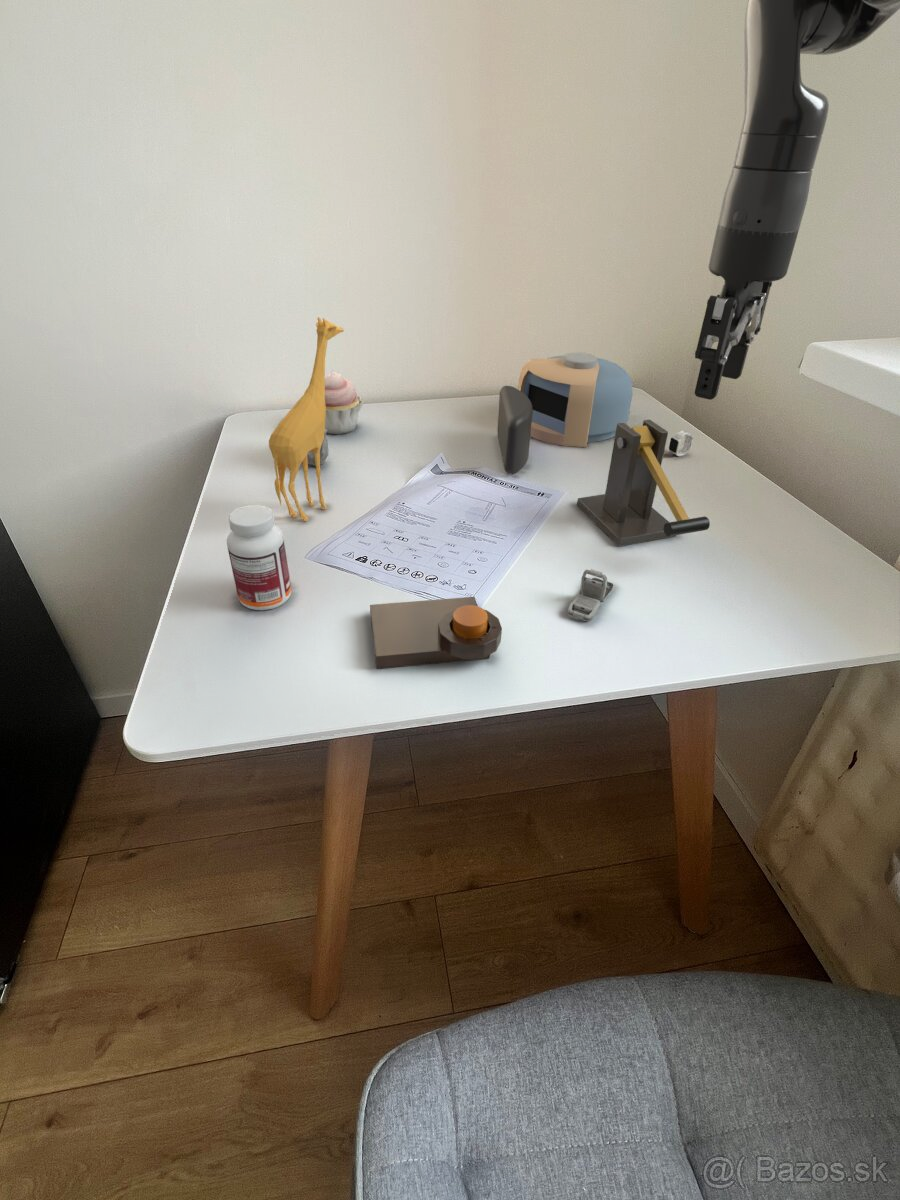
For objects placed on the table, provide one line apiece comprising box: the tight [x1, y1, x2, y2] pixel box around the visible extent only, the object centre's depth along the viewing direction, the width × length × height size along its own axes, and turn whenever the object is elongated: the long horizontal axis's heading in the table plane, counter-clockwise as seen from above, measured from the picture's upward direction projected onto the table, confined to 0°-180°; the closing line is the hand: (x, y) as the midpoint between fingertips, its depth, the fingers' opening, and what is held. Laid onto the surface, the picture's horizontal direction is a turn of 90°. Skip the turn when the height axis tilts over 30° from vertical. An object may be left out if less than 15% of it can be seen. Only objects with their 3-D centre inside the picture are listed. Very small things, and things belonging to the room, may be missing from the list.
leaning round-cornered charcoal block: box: [496, 385, 533, 475], centre depth 112 cm, size 16×5×9 cm, turn 1°
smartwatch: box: [668, 430, 694, 457], centre depth 116 cm, size 4×2×4 cm, turn 116°
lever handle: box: [631, 425, 711, 538], centre depth 88 cm, size 16×6×2 cm, turn 18°
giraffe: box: [268, 316, 345, 522], centre depth 93 cm, size 16×4×25 cm, turn 152°
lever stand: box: [576, 419, 677, 547], centre depth 94 cm, size 12×9×14 cm
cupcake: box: [325, 370, 365, 435], centre depth 120 cm, size 9×9×10 cm
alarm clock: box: [517, 351, 633, 448], centre depth 123 cm, size 19×20×12 cm
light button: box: [453, 605, 488, 639], centre depth 72 cm, size 4×4×2 cm
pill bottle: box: [226, 504, 292, 611], centre depth 79 cm, size 6×6×11 cm
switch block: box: [369, 596, 503, 670], centre depth 75 cm, size 13×11×4 cm
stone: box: [307, 428, 329, 467], centre depth 109 cm, size 9×7×10 cm
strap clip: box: [567, 568, 614, 622], centre depth 81 cm, size 8×3×4 cm, turn 150°
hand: (717, 386), depth 77 cm, fingers open, 8 cm apart
